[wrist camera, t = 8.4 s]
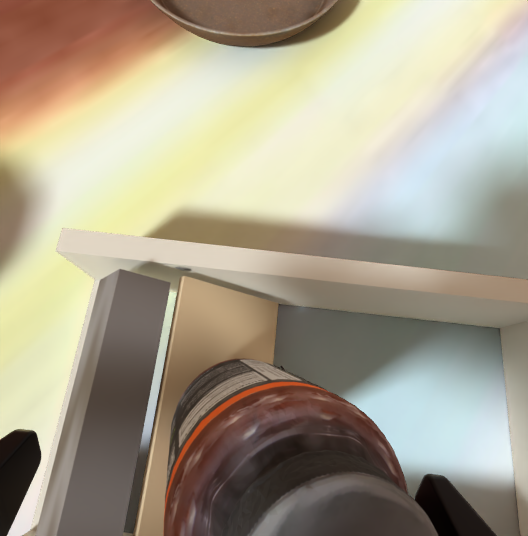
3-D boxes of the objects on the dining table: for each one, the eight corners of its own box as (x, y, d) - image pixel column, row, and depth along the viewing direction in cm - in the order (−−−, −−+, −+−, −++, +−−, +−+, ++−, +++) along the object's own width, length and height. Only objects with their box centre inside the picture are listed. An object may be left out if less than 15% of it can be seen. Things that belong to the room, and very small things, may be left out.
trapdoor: (221, 529, 20) (255, 551, 18) (29, 556, 15) (43, 592, 12) (247, 308, 24) (278, 303, 21) (102, 270, 19) (122, 257, 16)
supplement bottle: (320, 456, 17) (558, 688, 6) (198, 519, 16) (241, 963, 5) (274, 335, 18) (430, 363, 7) (151, 386, 16) (93, 530, 5)
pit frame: (550, 605, 19) (674, 693, 13) (34, 551, 19) (-55, 617, 13) (516, 311, 24) (597, 287, 18) (105, 266, 24) (62, 227, 18)
